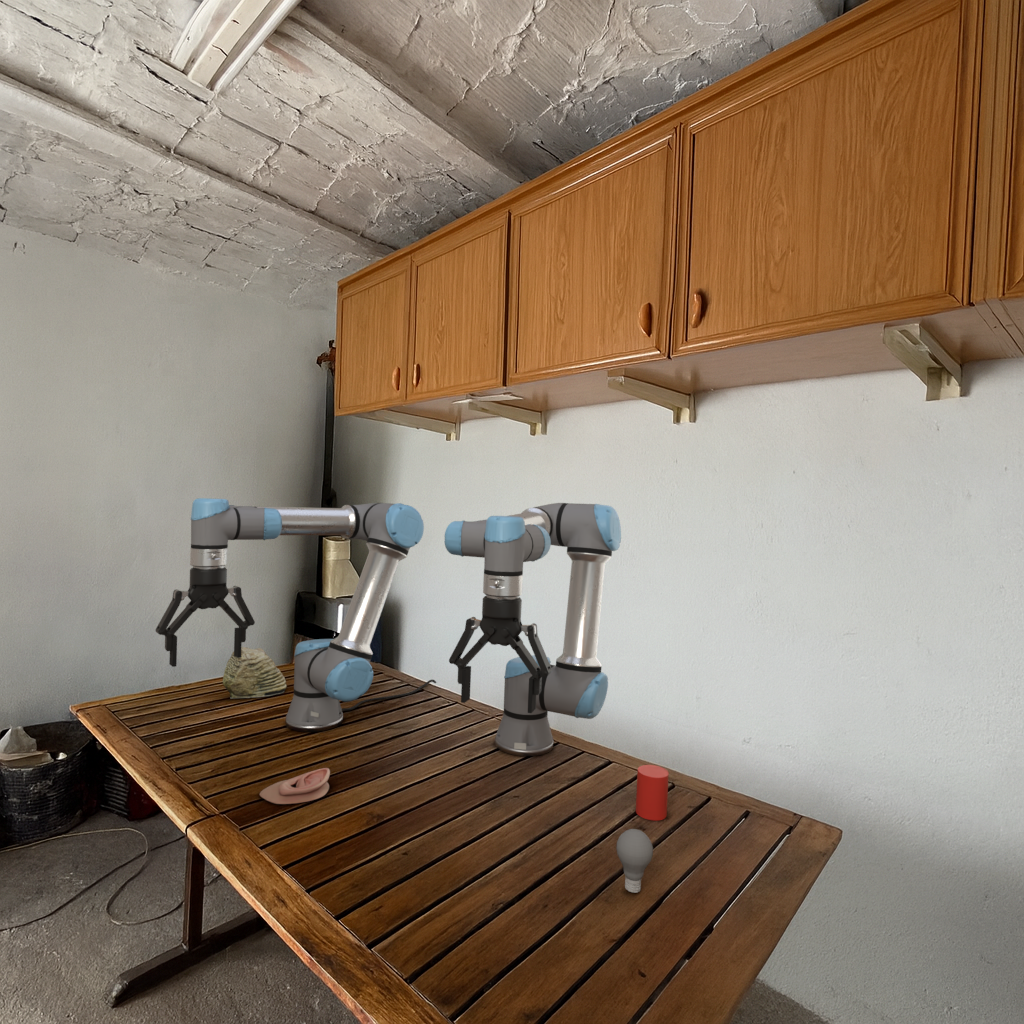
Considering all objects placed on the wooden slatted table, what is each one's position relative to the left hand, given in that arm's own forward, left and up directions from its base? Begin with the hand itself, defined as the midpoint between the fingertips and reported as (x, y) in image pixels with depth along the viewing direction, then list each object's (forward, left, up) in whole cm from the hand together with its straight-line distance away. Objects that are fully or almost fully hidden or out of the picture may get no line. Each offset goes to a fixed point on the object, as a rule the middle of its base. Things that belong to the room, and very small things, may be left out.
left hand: (206, 660), depth 143 cm
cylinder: (-54, +84, -25) cm, 103 cm away
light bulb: (-27, +94, -25) cm, 101 cm away
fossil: (-36, -43, -25) cm, 61 cm away
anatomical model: (-8, +24, -25) cm, 36 cm away
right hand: (-25, +65, -1) cm, 69 cm away
